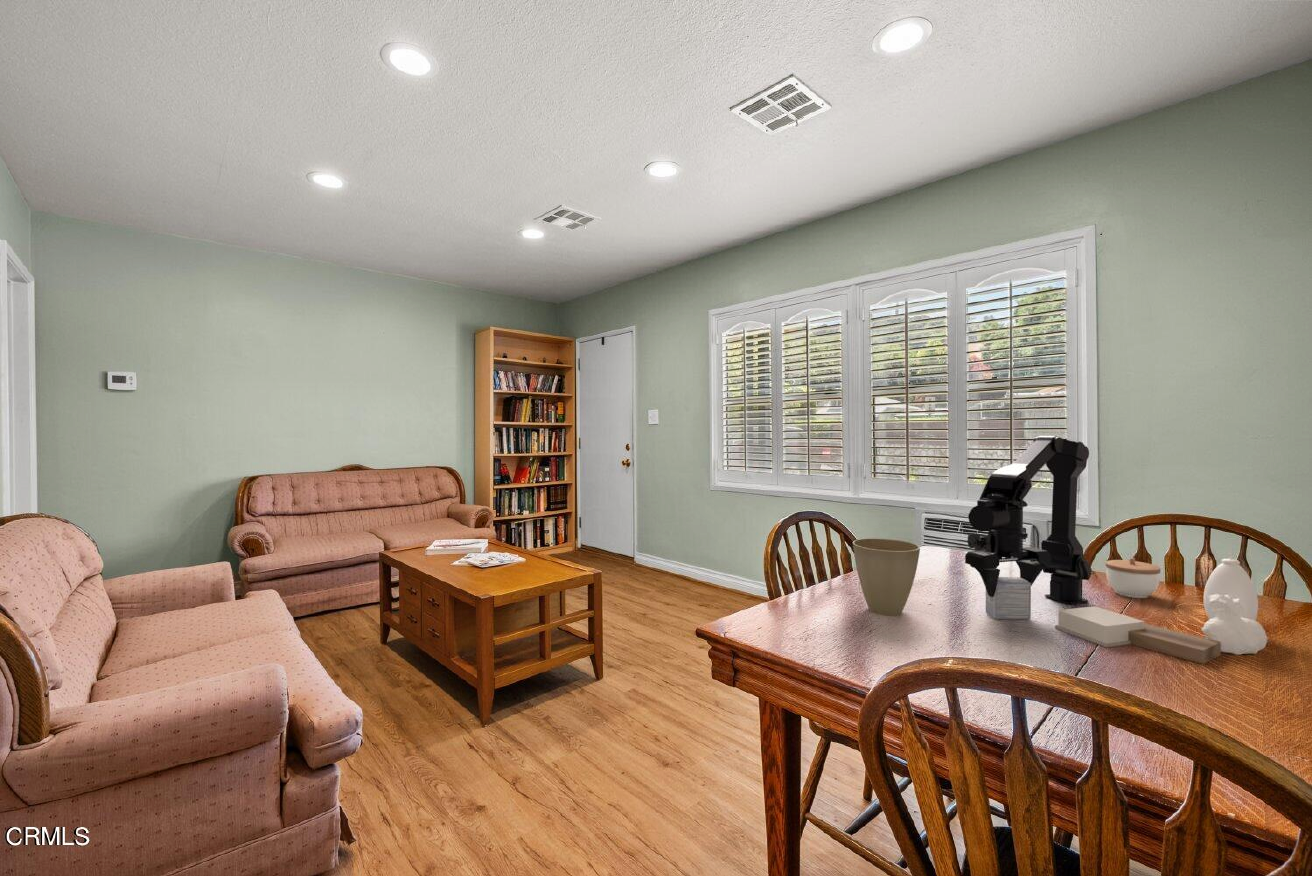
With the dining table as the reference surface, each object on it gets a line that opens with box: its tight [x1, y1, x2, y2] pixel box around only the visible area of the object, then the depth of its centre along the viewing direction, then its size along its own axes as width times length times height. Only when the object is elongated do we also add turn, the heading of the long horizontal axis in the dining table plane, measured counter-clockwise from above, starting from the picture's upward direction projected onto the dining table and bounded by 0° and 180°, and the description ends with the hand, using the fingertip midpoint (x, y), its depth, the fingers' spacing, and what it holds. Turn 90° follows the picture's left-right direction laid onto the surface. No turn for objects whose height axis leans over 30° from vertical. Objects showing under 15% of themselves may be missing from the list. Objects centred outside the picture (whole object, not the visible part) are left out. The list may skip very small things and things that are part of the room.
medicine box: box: [985, 576, 1032, 620], centre depth 128 cm, size 8×4×9 cm, turn 84°
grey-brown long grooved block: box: [1128, 622, 1222, 665], centre depth 109 cm, size 8×12×2 cm, turn 29°
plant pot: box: [852, 537, 921, 616], centre depth 133 cm, size 15×15×16 cm
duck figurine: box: [1201, 594, 1268, 656], centre depth 109 cm, size 12×8×11 cm
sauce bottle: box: [1202, 547, 1259, 621], centre depth 116 cm, size 8×8×18 cm
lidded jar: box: [1104, 557, 1161, 599], centre depth 143 cm, size 11×11×9 cm
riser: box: [1054, 605, 1145, 648], centre depth 116 cm, size 11×11×4 cm
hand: (1007, 594), depth 128 cm, fingers open, 9 cm apart
